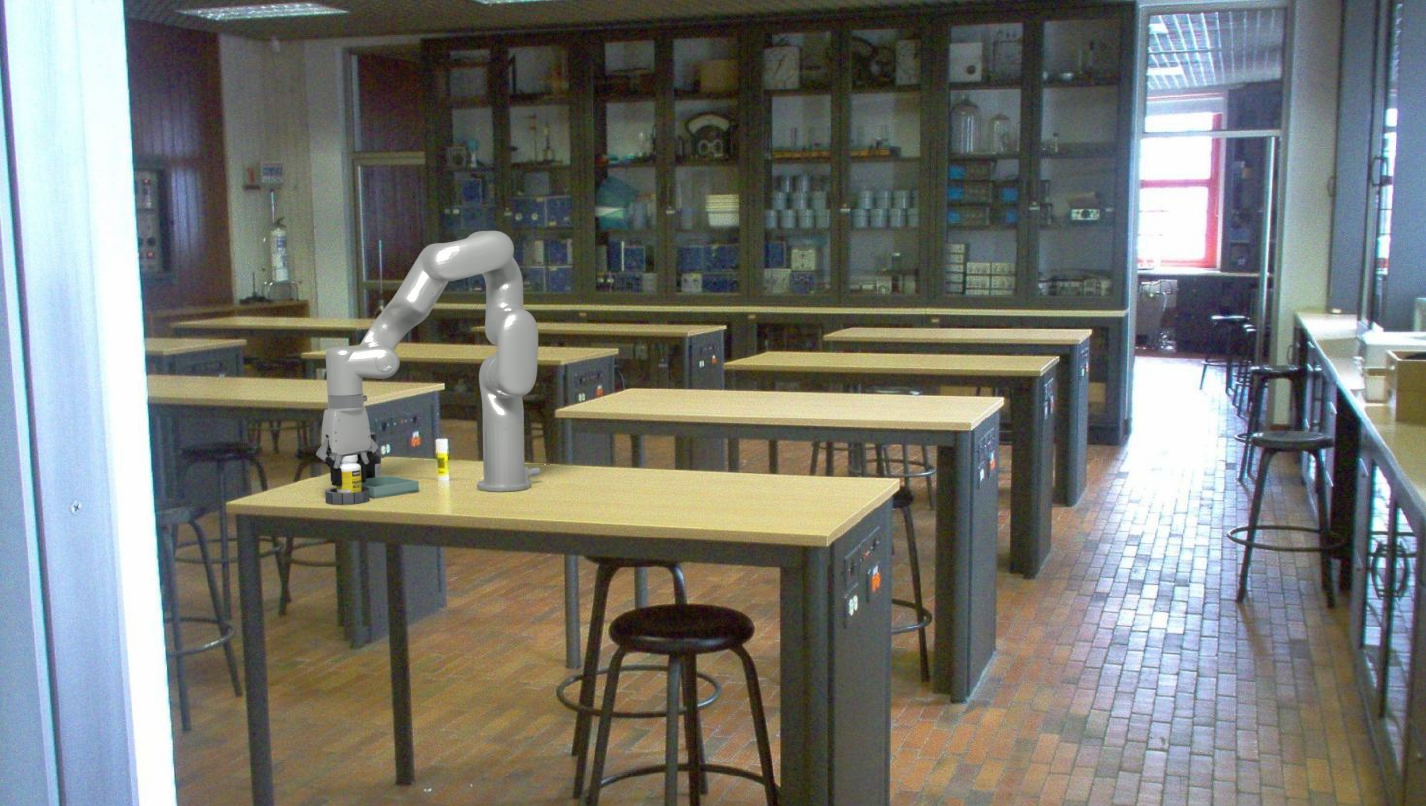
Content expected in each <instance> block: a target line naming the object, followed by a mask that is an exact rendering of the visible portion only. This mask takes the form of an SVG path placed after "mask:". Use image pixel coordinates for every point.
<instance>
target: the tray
mask: <svg viewBox="0 0 1426 806" xmlns="http://www.w3.org/2000/svg"><path fill="white" fill-rule="evenodd" d="M419 485H420V484H419V481H418V480H415V479H410V478H409V479H408V478H404V477H403V478H402V477H398V476H393V475H382V477H374V478H367V479H366V482H362V487H367V488H369V492H370V499H372V500H373V499H381V498H387V497H388V498H389V497H395V496H400V495H407V494H413V493H414V494H415V493H419V491H420V489H419V488H420V486H419Z"/></svg>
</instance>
